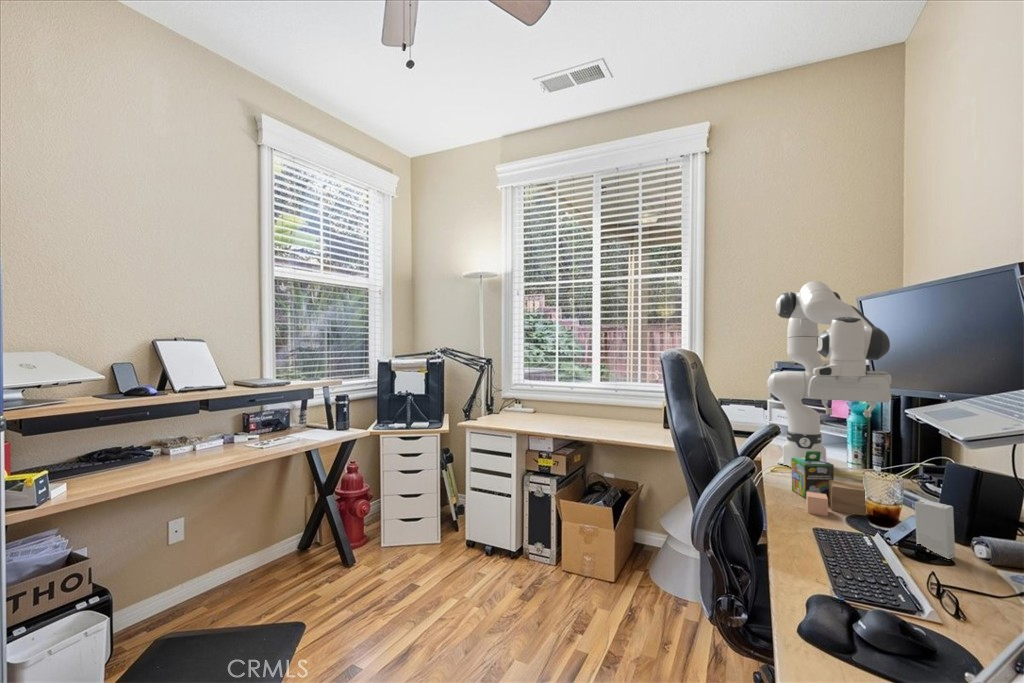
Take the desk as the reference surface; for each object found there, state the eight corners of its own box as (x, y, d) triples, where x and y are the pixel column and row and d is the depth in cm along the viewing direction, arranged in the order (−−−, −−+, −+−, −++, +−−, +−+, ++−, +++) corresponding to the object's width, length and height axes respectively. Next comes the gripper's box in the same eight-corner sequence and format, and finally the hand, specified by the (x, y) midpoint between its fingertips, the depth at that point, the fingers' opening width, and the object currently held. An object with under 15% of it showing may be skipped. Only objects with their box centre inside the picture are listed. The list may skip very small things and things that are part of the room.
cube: (806, 507, 139) (806, 491, 139) (826, 510, 136) (826, 494, 136) (807, 513, 135) (807, 496, 135) (828, 516, 132) (827, 499, 132)
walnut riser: (828, 502, 143) (828, 479, 143) (868, 508, 138) (868, 484, 138) (831, 510, 136) (831, 486, 136) (873, 516, 131) (873, 491, 131)
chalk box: (818, 490, 154) (818, 447, 154) (835, 500, 145) (835, 454, 145) (790, 490, 155) (790, 447, 155) (805, 499, 146) (804, 453, 146)
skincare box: (955, 557, 106) (955, 505, 107) (948, 561, 104) (948, 509, 104) (922, 546, 112) (922, 498, 112) (914, 551, 110) (914, 501, 110)
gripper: (888, 370, 135) (889, 416, 135) (807, 368, 145) (807, 412, 145) (894, 371, 129) (894, 419, 129) (808, 369, 139) (809, 414, 139)
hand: (848, 415), depth 137 cm, fingers open, 8 cm apart
